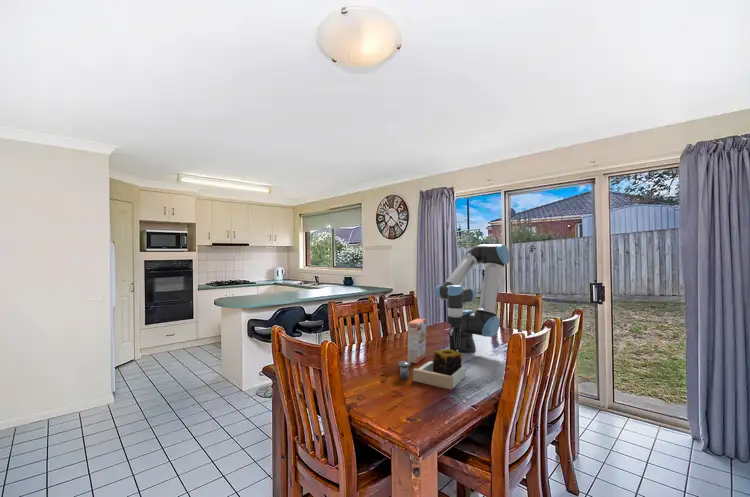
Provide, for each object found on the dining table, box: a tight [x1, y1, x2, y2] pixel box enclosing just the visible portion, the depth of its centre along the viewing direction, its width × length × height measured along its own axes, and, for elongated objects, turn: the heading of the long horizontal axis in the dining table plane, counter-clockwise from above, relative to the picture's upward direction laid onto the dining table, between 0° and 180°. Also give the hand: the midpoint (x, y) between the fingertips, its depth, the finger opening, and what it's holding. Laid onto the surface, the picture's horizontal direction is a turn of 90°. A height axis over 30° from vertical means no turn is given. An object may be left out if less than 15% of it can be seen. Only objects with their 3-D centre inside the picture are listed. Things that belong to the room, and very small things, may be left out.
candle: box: [432, 348, 463, 376], centre depth 166 cm, size 10×10×10 cm
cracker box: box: [407, 318, 427, 364], centre depth 186 cm, size 14×6×21 cm, turn 154°
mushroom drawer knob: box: [398, 360, 412, 380], centre depth 160 cm, size 6×6×7 cm
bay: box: [412, 360, 466, 390], centre depth 159 cm, size 18×18×5 cm
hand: (455, 362), depth 175 cm, fingers closed
